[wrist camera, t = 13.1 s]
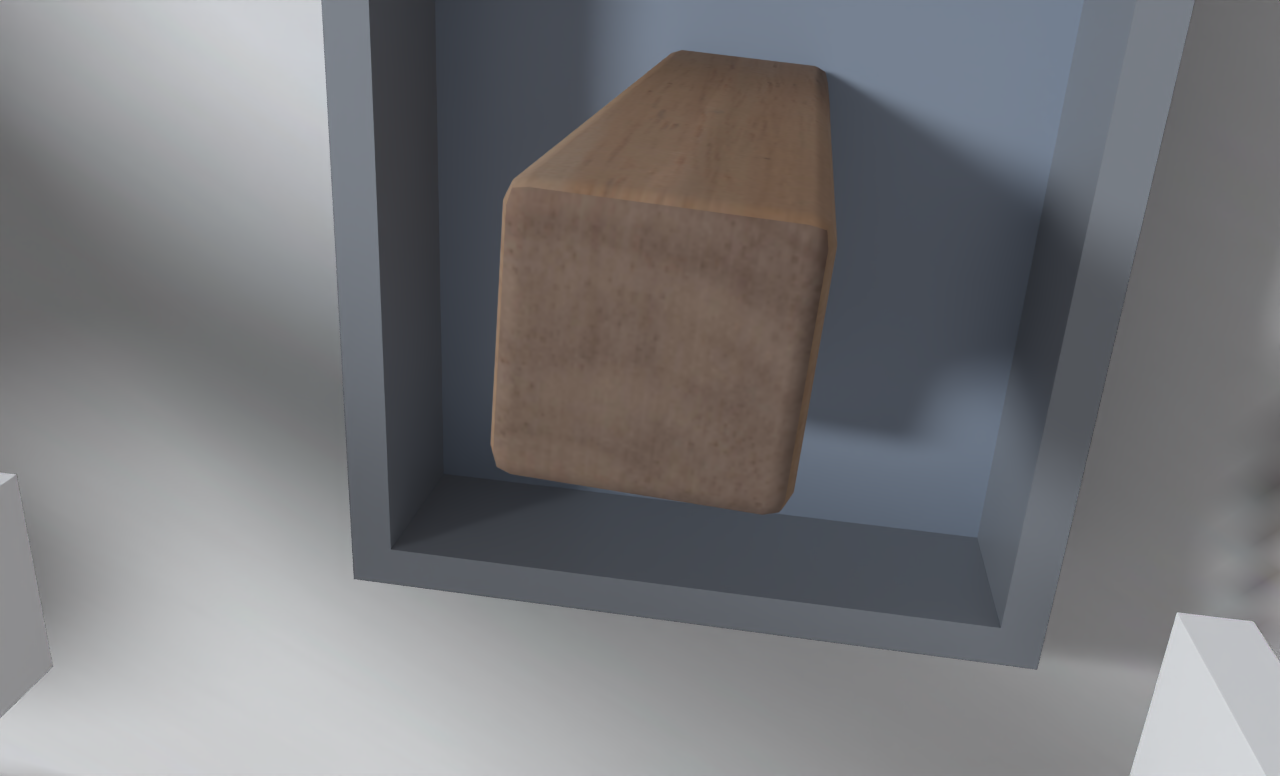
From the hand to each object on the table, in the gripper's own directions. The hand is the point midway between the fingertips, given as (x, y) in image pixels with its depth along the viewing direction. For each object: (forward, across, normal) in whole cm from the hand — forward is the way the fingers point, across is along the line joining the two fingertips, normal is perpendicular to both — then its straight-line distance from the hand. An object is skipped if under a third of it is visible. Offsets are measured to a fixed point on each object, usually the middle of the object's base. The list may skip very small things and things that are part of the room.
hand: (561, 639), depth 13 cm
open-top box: (+22, 0, 0) cm, 23 cm away
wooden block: (+22, 0, 0) cm, 22 cm away
